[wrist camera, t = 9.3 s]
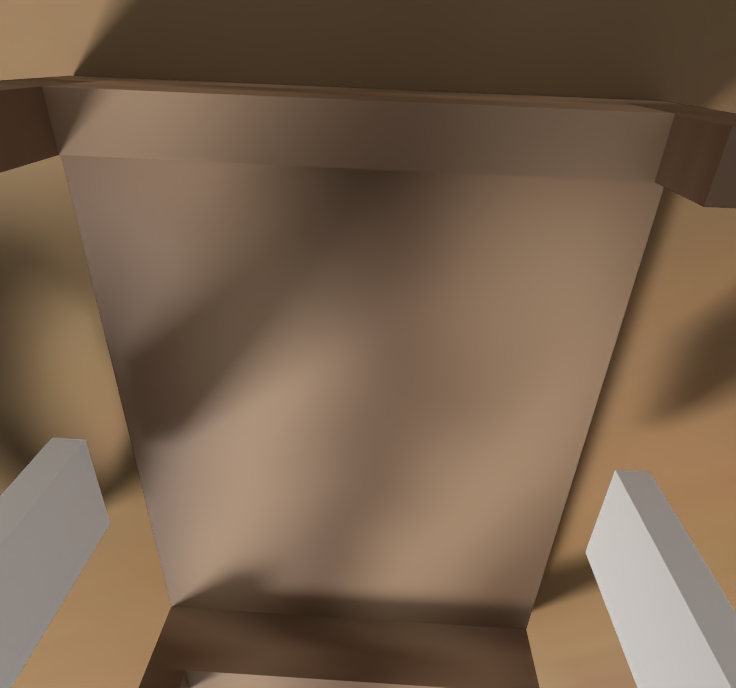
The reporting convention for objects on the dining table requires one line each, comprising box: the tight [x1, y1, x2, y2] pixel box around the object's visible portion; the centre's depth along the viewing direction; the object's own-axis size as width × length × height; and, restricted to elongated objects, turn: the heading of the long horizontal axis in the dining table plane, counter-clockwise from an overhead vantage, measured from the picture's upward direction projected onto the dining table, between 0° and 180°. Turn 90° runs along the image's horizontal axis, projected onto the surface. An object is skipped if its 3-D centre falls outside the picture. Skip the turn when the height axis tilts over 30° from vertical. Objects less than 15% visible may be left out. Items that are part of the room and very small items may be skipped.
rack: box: [0, 76, 736, 688], centre depth 13 cm, size 12×17×4 cm
